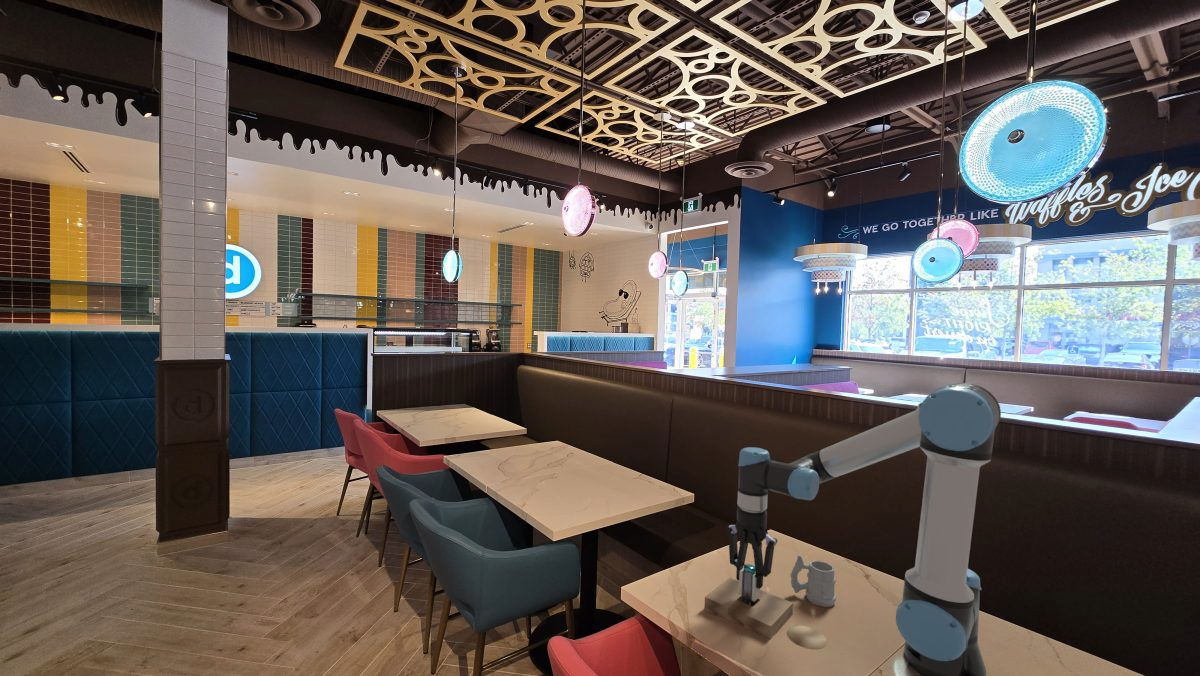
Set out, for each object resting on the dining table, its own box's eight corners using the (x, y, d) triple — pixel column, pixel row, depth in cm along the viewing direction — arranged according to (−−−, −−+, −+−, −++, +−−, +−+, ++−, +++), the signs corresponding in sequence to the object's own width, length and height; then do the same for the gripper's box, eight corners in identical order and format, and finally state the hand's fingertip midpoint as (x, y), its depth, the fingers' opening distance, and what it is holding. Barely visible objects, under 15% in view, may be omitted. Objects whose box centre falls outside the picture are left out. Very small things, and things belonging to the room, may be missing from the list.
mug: (838, 611, 131) (839, 567, 130) (790, 602, 134) (792, 559, 134) (833, 596, 138) (835, 554, 138) (788, 588, 142) (790, 547, 141)
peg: (756, 611, 129) (757, 567, 129) (751, 616, 127) (752, 571, 126) (745, 607, 131) (747, 563, 131) (740, 611, 129) (742, 567, 128)
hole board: (792, 616, 128) (793, 602, 128) (770, 640, 118) (771, 626, 117) (729, 589, 140) (729, 577, 140) (704, 609, 130) (704, 596, 130)
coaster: (831, 638, 119) (831, 636, 119) (819, 656, 112) (819, 654, 112) (794, 622, 125) (794, 621, 125) (780, 638, 118) (780, 636, 118)
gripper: (788, 512, 126) (784, 602, 126) (730, 496, 136) (727, 579, 137) (776, 520, 120) (772, 614, 121) (717, 503, 131) (714, 589, 131)
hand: (748, 595), depth 129 cm, fingers closed on peg, 3 cm apart
